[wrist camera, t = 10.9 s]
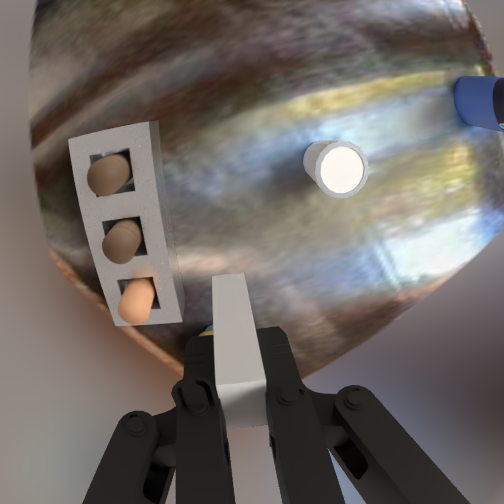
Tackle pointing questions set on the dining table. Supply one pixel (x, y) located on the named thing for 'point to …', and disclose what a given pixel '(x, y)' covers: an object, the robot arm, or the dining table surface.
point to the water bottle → (481, 101)
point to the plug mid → (123, 240)
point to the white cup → (336, 167)
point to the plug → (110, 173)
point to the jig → (131, 205)
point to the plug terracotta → (137, 300)
